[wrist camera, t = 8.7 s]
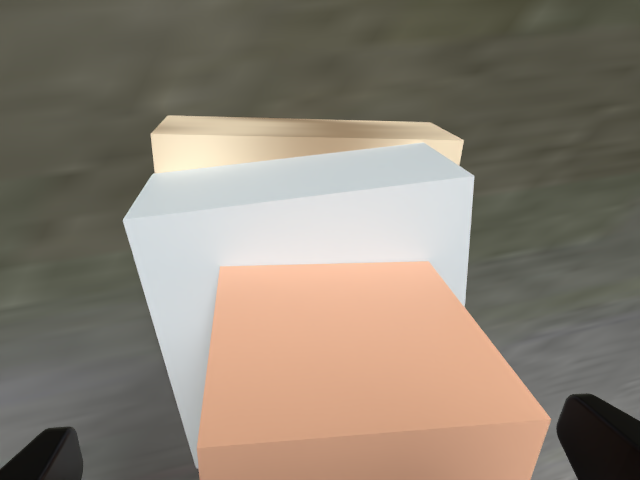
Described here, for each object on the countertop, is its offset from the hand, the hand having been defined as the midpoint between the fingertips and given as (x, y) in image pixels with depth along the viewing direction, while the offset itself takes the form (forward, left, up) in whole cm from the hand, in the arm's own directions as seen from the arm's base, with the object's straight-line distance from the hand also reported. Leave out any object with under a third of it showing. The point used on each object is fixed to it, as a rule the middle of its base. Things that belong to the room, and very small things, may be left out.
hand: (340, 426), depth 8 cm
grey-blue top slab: (0, 0, -6) cm, 6 cm away
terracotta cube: (0, 0, -2) cm, 3 cm away
